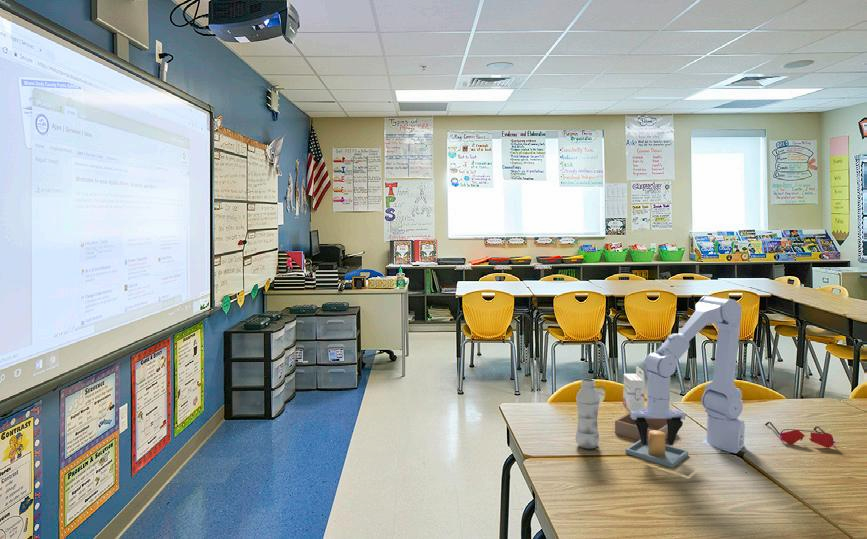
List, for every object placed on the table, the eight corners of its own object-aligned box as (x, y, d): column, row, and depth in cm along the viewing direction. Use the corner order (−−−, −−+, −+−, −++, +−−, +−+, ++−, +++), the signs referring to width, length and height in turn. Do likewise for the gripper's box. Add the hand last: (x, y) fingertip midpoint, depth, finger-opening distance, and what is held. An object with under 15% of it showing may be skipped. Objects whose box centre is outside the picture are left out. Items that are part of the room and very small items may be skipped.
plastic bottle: (600, 452, 152) (601, 384, 150) (575, 450, 153) (577, 382, 151) (598, 443, 158) (599, 377, 156) (574, 441, 159) (575, 376, 158)
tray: (688, 457, 148) (688, 451, 148) (672, 469, 141) (672, 463, 140) (642, 443, 157) (642, 438, 157) (625, 455, 150) (625, 449, 150)
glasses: (779, 445, 157) (780, 428, 157) (764, 425, 173) (765, 410, 172) (835, 451, 153) (836, 434, 152) (814, 430, 168) (815, 415, 168)
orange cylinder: (667, 454, 149) (668, 433, 149) (661, 458, 146) (661, 437, 145) (652, 449, 152) (652, 429, 152) (645, 454, 149) (645, 433, 149)
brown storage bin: (675, 434, 164) (675, 420, 164) (657, 447, 155) (657, 432, 155) (633, 423, 174) (634, 410, 173) (614, 434, 165) (615, 420, 164)
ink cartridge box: (621, 405, 192) (622, 365, 191) (635, 405, 192) (636, 365, 191) (630, 413, 184) (631, 371, 182) (644, 413, 183) (645, 371, 182)
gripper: (677, 391, 152) (676, 438, 153) (627, 391, 152) (625, 438, 153) (689, 399, 145) (688, 448, 146) (636, 399, 145) (635, 448, 146)
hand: (656, 443), depth 149 cm, fingers open, 7 cm apart
